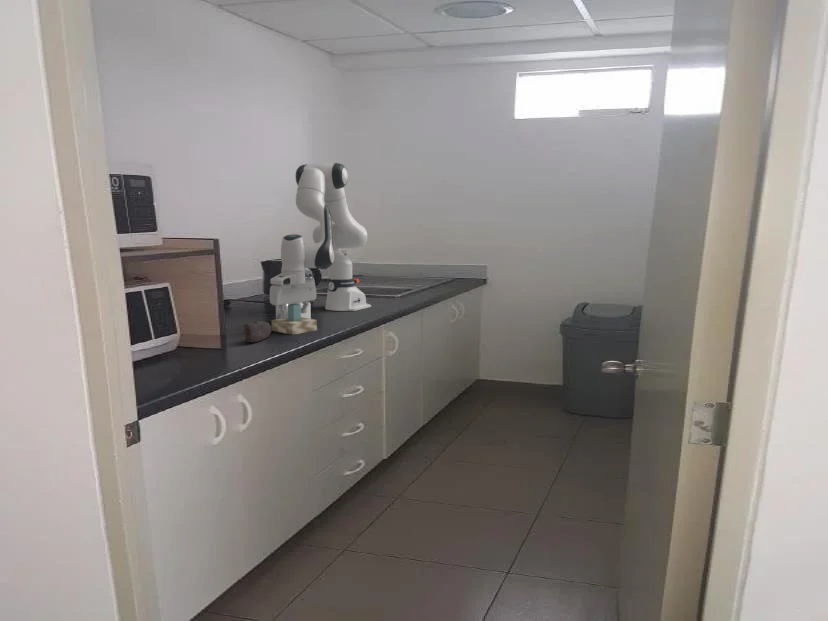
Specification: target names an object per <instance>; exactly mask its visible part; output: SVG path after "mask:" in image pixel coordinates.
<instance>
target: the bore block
mask: <svg viewBox="0 0 828 621" xmlns="http://www.w3.org/2000/svg"><path fill="white" fill-rule="evenodd" d="M317 322H318V320H317V319H313V318H311V319H309V318H303V317H301V320H300V321H294V322H293V321H288V318H282V319H276V318H275V319H272V320H271V332H272V331H273V332H278V333H283V334H288V335H292V336H294V335H299V334H303V333H309V332H315V331H318V323H317Z"/></svg>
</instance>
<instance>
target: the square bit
mask: <svg viewBox="0 0 828 621" xmlns="http://www.w3.org/2000/svg"><path fill="white" fill-rule="evenodd" d="M300 320H301V304H288V321H293V322H294V321H300Z"/></svg>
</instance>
